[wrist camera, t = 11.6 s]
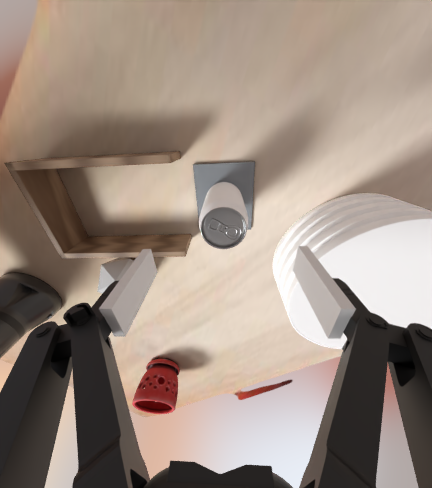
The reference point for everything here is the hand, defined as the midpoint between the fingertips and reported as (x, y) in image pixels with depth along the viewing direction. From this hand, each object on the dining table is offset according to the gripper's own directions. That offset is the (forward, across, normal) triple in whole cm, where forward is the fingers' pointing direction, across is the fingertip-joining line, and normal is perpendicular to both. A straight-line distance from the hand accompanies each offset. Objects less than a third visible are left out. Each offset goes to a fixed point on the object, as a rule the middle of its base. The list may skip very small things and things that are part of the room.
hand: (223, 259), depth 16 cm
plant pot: (+19, +23, +60) cm, 67 cm away
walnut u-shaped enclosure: (+19, +18, 0) cm, 26 cm away
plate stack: (+19, -24, +14) cm, 34 cm away
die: (+19, +22, +15) cm, 33 cm away
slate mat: (+19, 0, 0) cm, 19 cm away
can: (+18, 0, 0) cm, 18 cm away
